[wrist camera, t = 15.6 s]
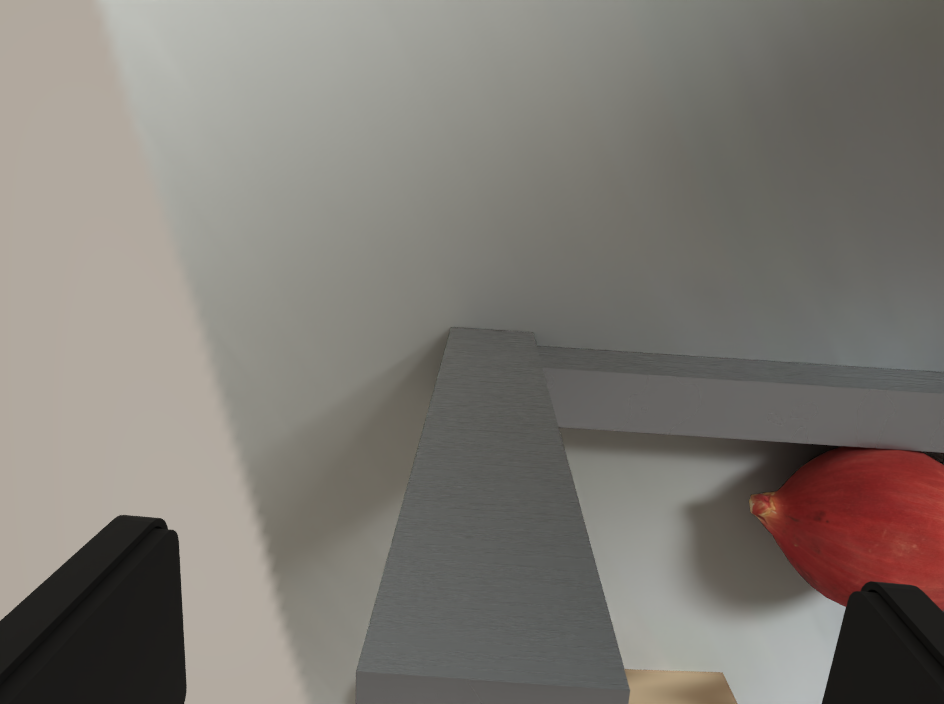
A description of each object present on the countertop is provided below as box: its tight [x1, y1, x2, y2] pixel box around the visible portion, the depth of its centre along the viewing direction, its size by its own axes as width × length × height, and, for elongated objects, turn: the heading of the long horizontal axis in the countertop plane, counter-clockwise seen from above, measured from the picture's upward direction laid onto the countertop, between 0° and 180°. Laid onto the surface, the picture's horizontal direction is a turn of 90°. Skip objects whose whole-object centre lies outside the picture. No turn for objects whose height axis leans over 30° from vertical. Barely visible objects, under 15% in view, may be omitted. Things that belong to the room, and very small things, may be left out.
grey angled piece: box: [356, 327, 944, 704], centre depth 17 cm, size 12×22×18 cm, turn 87°
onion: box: [749, 446, 944, 611], centre depth 23 cm, size 6×6×8 cm
